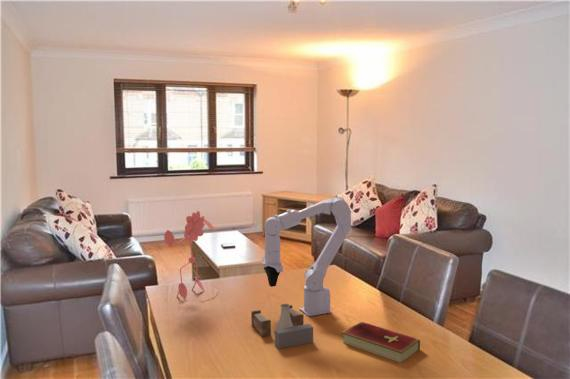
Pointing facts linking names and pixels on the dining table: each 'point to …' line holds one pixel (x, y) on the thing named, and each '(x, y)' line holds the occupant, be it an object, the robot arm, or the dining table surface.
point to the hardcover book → (381, 341)
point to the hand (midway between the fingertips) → (272, 285)
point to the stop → (293, 336)
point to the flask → (284, 317)
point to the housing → (265, 324)
